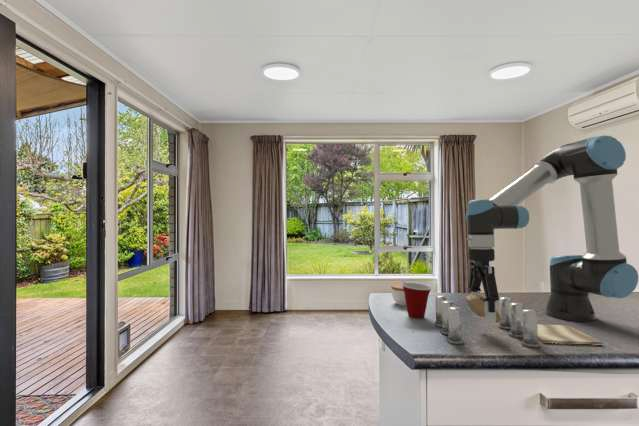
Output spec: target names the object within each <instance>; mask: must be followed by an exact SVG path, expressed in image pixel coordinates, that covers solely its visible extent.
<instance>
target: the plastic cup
mask: <svg viewBox="0 0 639 426" xmlns="http://www.w3.org/2000/svg"><path fill="white" fill-rule="evenodd" d="M401 284H402V286H403V289H404V293H405V300H406V311H407V316H408V318H411V319H415V320H422V319H425V315H426V310H427V304H428V300H429V296H430V292H431V290H432V286H431V285H426V284H421V283H416V282H405V283H403V282H402V283H401Z"/></svg>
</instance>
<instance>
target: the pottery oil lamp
mask: <svg viewBox="0 0 639 426" xmlns="http://www.w3.org/2000/svg"><path fill="white" fill-rule="evenodd" d="M485 298H486V297H483V296H482V295H481V296H478V295H475V294H473V293H470V295H466V296H465V300H466V302H467V305H468V306H469V308H470V309H469V310H471V312H472V311H473V313H475V314H476V315H477V316H479V317H483V318H485V301H484V299H485ZM501 319H502V318H501V316H500V312H498V310H496V323H497V324H499V323H500V321H501ZM496 323H495V324H496Z"/></svg>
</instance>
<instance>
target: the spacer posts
mask: <svg viewBox="0 0 639 426" xmlns="http://www.w3.org/2000/svg"><path fill="white" fill-rule="evenodd" d="M512 299H513V298H512V297H509V296H500V297H499V300H498V301H499V302H498V303H499V314H500V316H501V318H502V319H501V321H500V322H499V323H497V324H498V326H497V327H498V328H499V329H501V330H506V331H509V332H508V335H509V337H512V338H515V339H522V340H521V343H520V344H521V345H522V346H524V347H526V348H529V349H539V348H540V343H539V342H538V341H539V340H538V333H537V324H538V310H536V309H532V308H531V309H530V308H524V304H523V303H522V302H515V301H514V302H513V301H512ZM454 304H455V303H454V301H451V300H448V296H446V295H441V294H440V295H435V321H434V327H437V328H441V329H440V330H439V331H440V334H441V335H444V336H447V338H446V343H448V344H449V345H455V346H461V345H463V344H464V340H463V338H462V333H463V332H462V307H458V306H454Z"/></svg>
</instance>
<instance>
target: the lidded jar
mask: <svg viewBox="0 0 639 426" xmlns="http://www.w3.org/2000/svg"><path fill="white" fill-rule="evenodd" d="M403 283H406V282H405V281H403V282H402V283H395V284H392V285H391V286H390V287H391V295H392V298H393V300H394V302H395V303H396V304H397V305H398V304H399V306H403V305H406V300H405V293H404V289H403V286H402V284H403Z"/></svg>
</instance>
